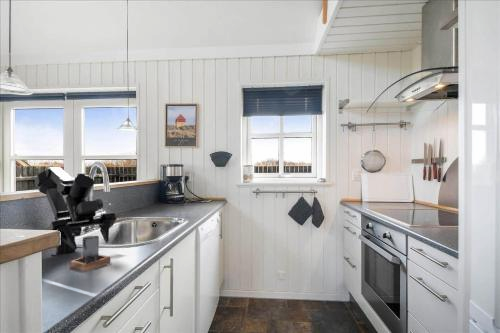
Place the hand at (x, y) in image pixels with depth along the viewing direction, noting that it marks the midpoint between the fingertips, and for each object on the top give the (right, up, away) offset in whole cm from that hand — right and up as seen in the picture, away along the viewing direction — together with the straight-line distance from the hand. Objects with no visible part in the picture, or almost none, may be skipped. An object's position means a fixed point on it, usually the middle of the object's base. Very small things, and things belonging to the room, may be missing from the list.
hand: (92, 245), depth 83 cm
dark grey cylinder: (-1, -7, +1) cm, 7 cm away
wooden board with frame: (0, -7, +4) cm, 8 cm away
